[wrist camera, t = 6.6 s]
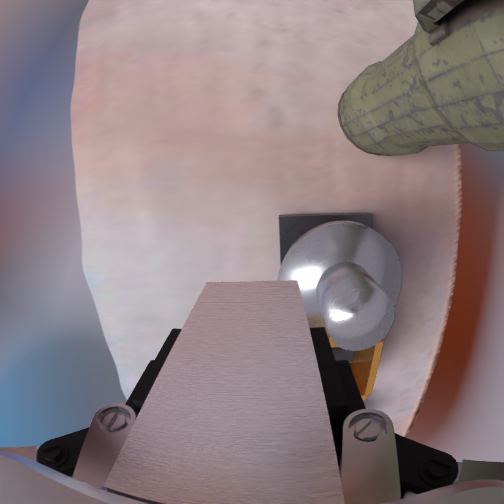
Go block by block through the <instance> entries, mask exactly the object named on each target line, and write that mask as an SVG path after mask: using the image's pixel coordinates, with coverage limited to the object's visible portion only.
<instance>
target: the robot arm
mask: <svg viewBox="0 0 504 504" xmlns="http://www.w3.org/2000/svg"><path fill="white" fill-rule="evenodd" d="M309 329H310V333H311V337H312V342H313V346H314V350H315V355H316V359H317V363H318V368H319V372H320V377H321V381H322V386H323V391H324V395H325V400H326V405H327V410H328V415H329V420H330V425H331V430H332V435H333V440H334V445H335V451H336V456H337V461H338V467H339V473H340V478H341V484H342V490H343V496H344V503H345V504H504V462H485V461H473V460H472V461H471V460H462V462H461V463H460V462H456V460H455V459H454V458H453V457H452V456H451V455H449V454H447V453H445V452H442V451H439V450H437V449H434V448H431V447H428V446H426V445H423V444H420V443H418V442H415V441H413V440H410V439H408V438H405V437H403V436H400V435H398V434H396V433H394V427H393V423H392V421H391V419H390V418H389V417H388V416H387V415H386V414H385V413H383V412H381V411H378V410H375V409H366V408H365V405H364V403H363V400H362V397H361V394H360V391H359V388H358V386H357V383H356V380H355V377H354V375H353V372H352V369H351V367H350V364H349V362H348V360H338V361H336V360H335V357H334V354H333V351H332V348H331V345H330V342H329V339H328V336H327V333H326V329H325V327H315V328H309ZM181 330H182V329H172V331H171V332H170V334H169V336H168V338H167V339H166V341H165V343H164V344H163V346H162V348H161V350H160V351H159V353H158V355H157V357H156V358H155V360H152V361H150V362H149V364H148V366H147V367H146V369H145V371H144V372H143V374H142V376H141V378H140V379H139V381H138V383H137V385H136V386H135V388H134V390H133V392H132V393H131V395H130V397H129V399H128V400H127V402H126V404H120V403H114V404H109V405H106V406H104V407H102V408H100V409H99V410H98V411H97V412H96V413H95V415H94V417H93V419H92V422H91V424H90V427H88V428H86V429H83V430H80V431H77V432H74V433H71V434H67V435H64V436H61V437H58V438H55V439H52V440H49V441H46V442H45V443H43V444H42V445H41V446H40V447H39V449H38V448H37V446H26V447H0V504H148V503H144V502H140V501H137V500H133V499H130V498H126V497H123V496H120V495H117V494H113V493H110V492H109V491H108V490H107V489H106V488H105V487H104V485H105V483H106V481H107V479H108V477H109V475H110V472H111V470H112V468H113V466H114V464H115V462H116V460H117V458H118V455H119V453H120V451H121V449H122V447H123V445H124V443H125V441H126V439H127V437H128V435H129V433H130V430H131V428H132V426H133V424H134V422H135V420H136V418H137V416H138V414H139V412H140V410H141V408H142V406H143V404H144V402H145V400H146V398H147V396H148V394H149V392H150V390H151V388H152V386H153V384H154V382H155V380H156V378H157V376H158V374H159V372H160V370H161V368H162V366H163V365H164V363H165V361H166V359H167V357H168V355H169V353H170V351H171V349H172V347H173V345H174V343H175V341H176V339H177V338H178V336H179V334H180V332H181Z"/></svg>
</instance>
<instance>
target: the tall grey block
mask: <svg viewBox="0 0 504 504" xmlns="http://www.w3.org/2000/svg"><path fill="white" fill-rule="evenodd" d="M104 487H105V488H106V489H107V490H108V491H109V492H110V493H113V494H117V495H120V496H123V497H126V498H130V499H133V500H137V501H140V502H144V503H148V504H345V503H344V496H343V490H342V484H341V478H340V473H339V467H338V461H337V456H336V451H335V445H334V440H333V435H332V430H331V425H330V420H329V415H328V410H327V405H326V400H325V395H324V391H323V386H322V381H321V377H320V372H319V368H318V363H317V359H316V355H315V350H314V346H313V342H312V337H311V333H310V329H309V325H308V321H307V316H306V312H305V308H304V304H303V300H302V296H301V292H300V288H299V284H298V280H288V281H254V282H207V283H206V285H205V287H204V289H203V290H202V292H201V294H200V296H199V298H198V300H197V302H196V304H195V305H194V307H193V309H192V311H191V313H190V315H189V317H188V319H187V320H186V322H185V324H184V326H183V328H182V330H181V332H180V334H179V336H178V338H177V339H176V341H175V343H174V345H173V347H172V349H171V351H170V353H169V355H168V357H167V359H166V361H165V363H164V365H163V366H162V368H161V370H160V372H159V374H158V376H157V378H156V380H155V382H154V384H153V386H152V388H151V390H150V392H149V394H148V396H147V398H146V400H145V402H144V404H143V406H142V408H141V410H140V412H139V414H138V416H137V418H136V420H135V422H134V424H133V426H132V428H131V430H130V433H129V435H128V437H127V439H126V441H125V443H124V445H123V447H122V449H121V451H120V453H119V455H118V458H117V460H116V462H115V464H114V466H113V468H112V470H111V472H110V475H109V477H108V479H107V481H106V483H105V485H104Z"/></svg>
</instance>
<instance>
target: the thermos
mask: <svg viewBox="0 0 504 504" xmlns="http://www.w3.org/2000/svg"><path fill="white" fill-rule="evenodd" d="M413 3H414V10H415V16H416V18H417V20H418V24H417V28H416V31H415V34H414V35H413V36H412V37H411V38H410V39H408V40H407V41H406V42H405V43H404V44H402V45H401V46H400V47H399V48H398V49H397V50H395V51H394V52H393V53H392V54H391V55H390V56H388V57H387V58H386V59H385V60H384V61H383V62H377V63H375V64H372V65H370V66H368V67H367V68H366V69H365V70H364V71H363V72H362V73H361V74H360V75H359V76H358V77H357V78H356V79H355V80H354V81H353V82H352V83H351V84H350V85H349V86H348V87H347V89H346V91H345V92H344V93H343V94H342V96H341V99H340V101H339V103H338V118H339V122H340V126H341V128H342V130H343V132H344V134H345V135H346V137H347V139H349V140H350V141H351V142H352V143H353V144H354V145H355V146H356V147H357V148H359V149H361V150H363V151H364V152H366V153H370V154H375V155H386V156H392V155H404V154H413V153H418V152H420V151H422V150H424V149H425V148H427V147H428V146H435V145H448V144H464V143H471V144H473V145H475V146H478V147H480V148H482V149H485V150H487V151H504V0H413Z"/></svg>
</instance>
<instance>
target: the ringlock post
mask: <svg viewBox="0 0 504 504" xmlns="http://www.w3.org/2000/svg"><path fill="white" fill-rule="evenodd" d="M279 232H280V260H281V267H280V271H279V276H278V281H288V280H298V284H299V288H300V292H301V296H302V300H303V304H304V308H305V312H306V316H307V321H308V325H309V328H315V327H325V329H326V333H327V336H328V339H329V342H330V345H331V348H332V351H333V354H334V357H335V360H336V361H338V360H348V362H352V363H349V364H350V367H351V369H352V372H353V375H354V377H355V380H356V383H357V386H358V388H359V391H360V394H361V397H362V400H367V397H368V395H369V394H372V390H373V386H374V382H375V378H376V374H377V370H378V366H379V361H380V357H381V352H382V347H383V340H382V339H383V338H384V337H385V336H386V335H387V334H388V332H389V331H390V329H391V327H392V325H393V322H394V316H395V310H394V307H395V305H396V302H397V300H398V298H399V294H400V291H401V286H402V269H401V264H400V260H399V257H398V255H397V253H396V251H395V249H394V247H393V246H392V245H391V243H390V242H389V241H388V240H387V239H386V238H385V237H384V236H382V235H381V234H380V233H378V232H377V231H375V230H374V229H372V214H370V213H333V214H299V215H279Z"/></svg>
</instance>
